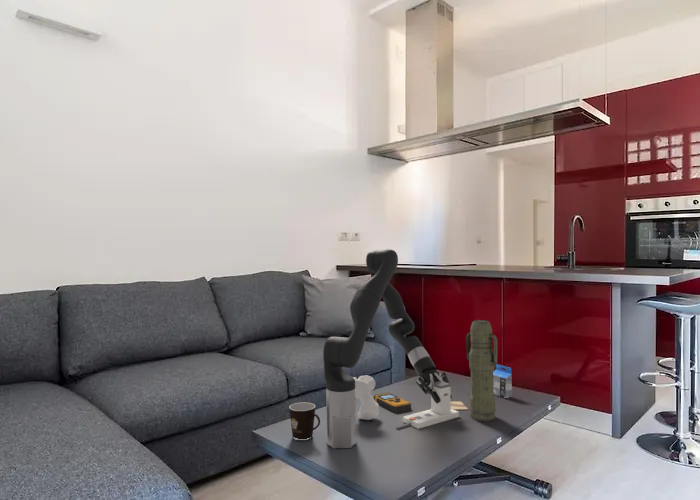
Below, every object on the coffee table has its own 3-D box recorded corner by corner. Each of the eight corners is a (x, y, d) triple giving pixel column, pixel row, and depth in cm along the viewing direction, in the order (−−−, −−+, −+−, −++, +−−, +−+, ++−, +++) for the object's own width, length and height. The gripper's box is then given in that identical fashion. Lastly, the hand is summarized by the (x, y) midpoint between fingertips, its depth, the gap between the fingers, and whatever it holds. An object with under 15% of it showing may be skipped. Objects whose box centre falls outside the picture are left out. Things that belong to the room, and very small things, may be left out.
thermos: (472, 410, 170) (470, 318, 170) (502, 417, 162) (501, 320, 163) (462, 417, 163) (460, 320, 163) (493, 424, 155) (492, 323, 156)
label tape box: (489, 393, 190) (489, 364, 191) (496, 392, 192) (495, 363, 193) (505, 399, 183) (505, 369, 183) (512, 397, 185) (512, 367, 185)
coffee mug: (286, 434, 148) (286, 404, 148) (311, 430, 152) (310, 400, 152) (296, 448, 137) (295, 415, 138) (322, 443, 141) (322, 411, 141)
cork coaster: (467, 409, 170) (467, 408, 170) (444, 410, 170) (444, 409, 170) (460, 402, 179) (460, 401, 179) (438, 402, 179) (438, 401, 179)
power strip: (458, 416, 163) (458, 410, 163) (404, 432, 149) (404, 425, 149) (443, 410, 170) (443, 404, 170) (389, 425, 155) (389, 418, 155)
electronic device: (394, 415, 167) (394, 406, 167) (372, 402, 181) (372, 394, 181) (412, 411, 171) (412, 402, 171) (390, 399, 185) (390, 391, 185)
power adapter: (451, 416, 163) (450, 383, 163) (441, 419, 160) (440, 386, 160) (440, 412, 167) (440, 380, 167) (431, 415, 164) (430, 382, 164)
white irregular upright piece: (370, 426, 155) (370, 382, 155) (343, 420, 161) (343, 378, 161) (383, 417, 163) (383, 376, 163) (357, 412, 169) (357, 372, 169)
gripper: (411, 358, 166) (435, 398, 156) (439, 353, 174) (463, 391, 164) (402, 369, 171) (425, 410, 160) (430, 364, 179) (453, 402, 168)
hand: (444, 400), depth 162 cm, fingers closed on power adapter, 5 cm apart
